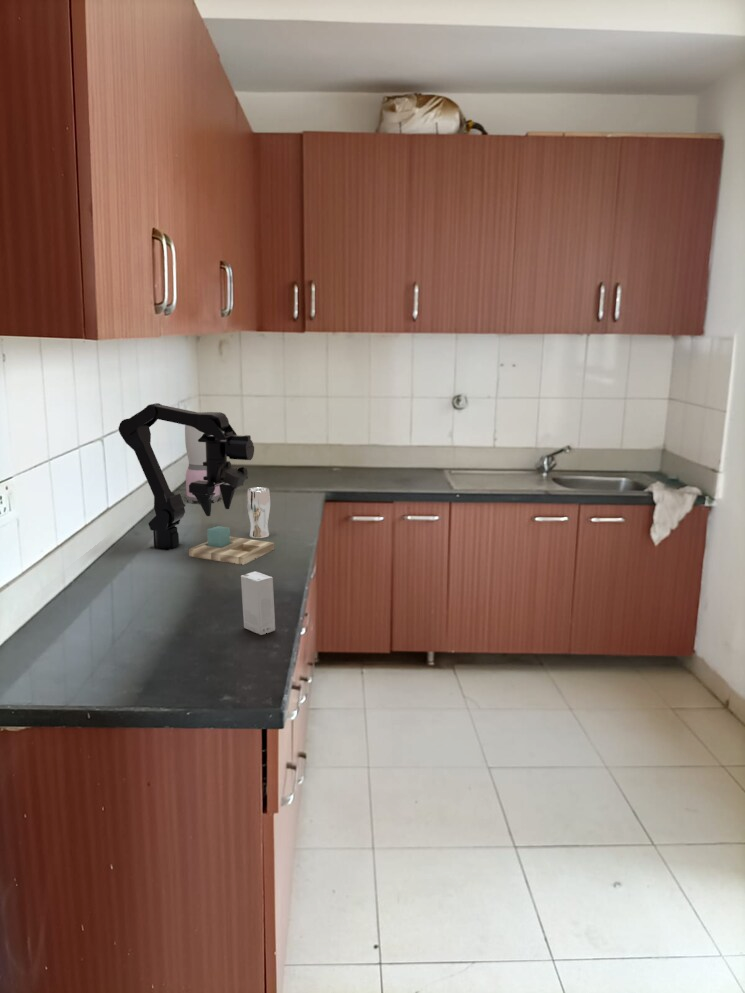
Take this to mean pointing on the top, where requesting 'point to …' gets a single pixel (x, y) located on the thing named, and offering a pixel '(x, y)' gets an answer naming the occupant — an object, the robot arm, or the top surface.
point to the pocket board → (233, 550)
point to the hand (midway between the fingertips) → (218, 512)
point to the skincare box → (258, 602)
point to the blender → (196, 461)
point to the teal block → (218, 536)
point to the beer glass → (258, 511)
